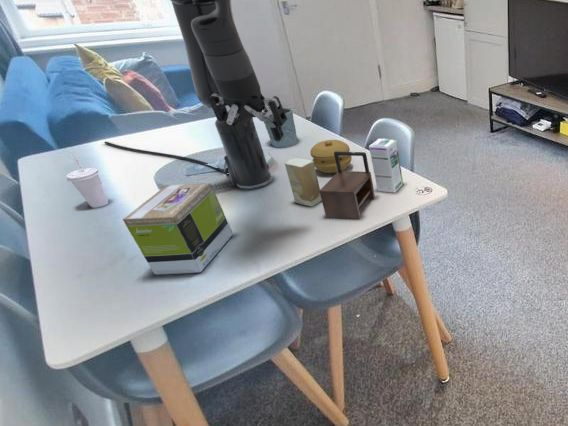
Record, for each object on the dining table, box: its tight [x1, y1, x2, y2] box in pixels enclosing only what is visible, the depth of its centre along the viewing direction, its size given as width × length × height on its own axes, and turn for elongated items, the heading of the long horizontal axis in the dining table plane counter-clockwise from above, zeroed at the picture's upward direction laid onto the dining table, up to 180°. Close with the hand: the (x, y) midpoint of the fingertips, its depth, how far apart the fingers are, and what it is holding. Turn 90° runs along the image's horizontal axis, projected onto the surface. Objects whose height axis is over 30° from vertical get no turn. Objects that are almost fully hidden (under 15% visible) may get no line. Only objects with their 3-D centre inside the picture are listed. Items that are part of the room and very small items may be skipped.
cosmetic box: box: [284, 157, 322, 207], centre depth 116 cm, size 6×4×12 cm
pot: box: [309, 139, 353, 174], centre depth 135 cm, size 12×12×10 cm
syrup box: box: [368, 138, 404, 194], centre depth 123 cm, size 6×6×14 cm
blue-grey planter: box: [261, 107, 299, 149], centre depth 154 cm, size 10×10×12 cm
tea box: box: [122, 182, 234, 276], centre depth 94 cm, size 15×10×15 cm, turn 5°
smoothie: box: [65, 156, 109, 209], centre depth 114 cm, size 6×6×14 cm
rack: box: [319, 151, 376, 220], centre depth 113 cm, size 9×12×14 cm
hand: (260, 137), depth 97 cm, fingers open, 8 cm apart
